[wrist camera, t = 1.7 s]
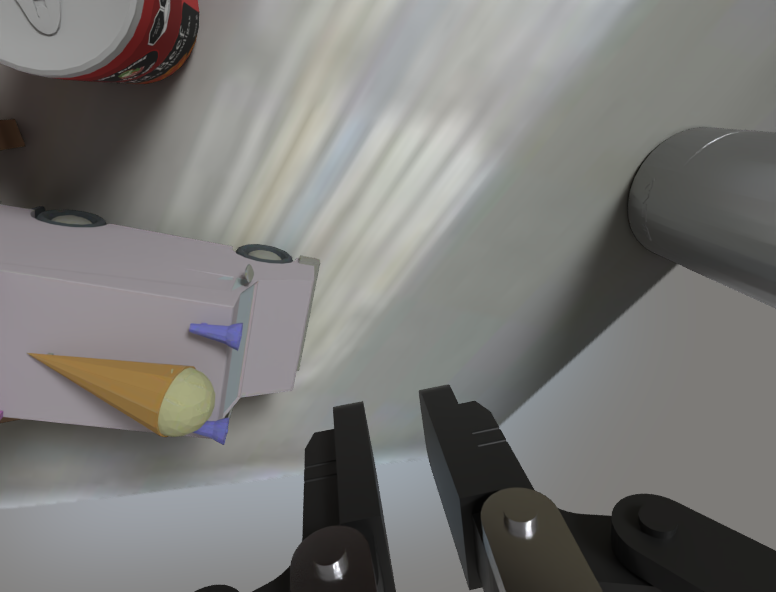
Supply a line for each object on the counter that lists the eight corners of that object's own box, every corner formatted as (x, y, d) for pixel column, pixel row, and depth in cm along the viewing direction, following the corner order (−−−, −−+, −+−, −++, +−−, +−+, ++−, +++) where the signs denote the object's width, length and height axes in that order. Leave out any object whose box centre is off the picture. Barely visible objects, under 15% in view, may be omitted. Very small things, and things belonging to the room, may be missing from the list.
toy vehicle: (298, 360, 37) (288, 519, 23) (-2, 318, 33) (-233, 481, 19) (321, 240, 34) (326, 339, 20) (-6, 178, 30) (-286, 248, 16)
